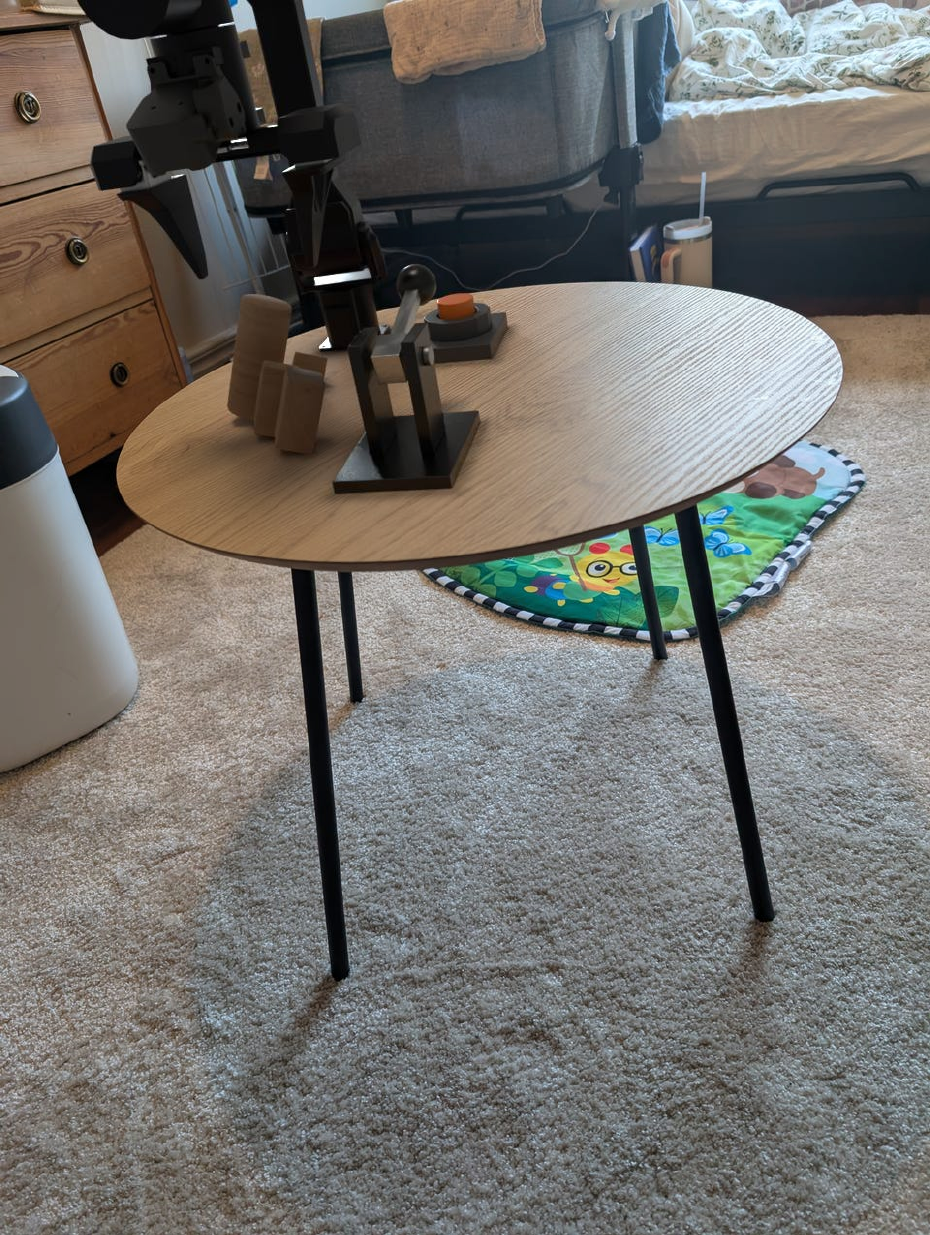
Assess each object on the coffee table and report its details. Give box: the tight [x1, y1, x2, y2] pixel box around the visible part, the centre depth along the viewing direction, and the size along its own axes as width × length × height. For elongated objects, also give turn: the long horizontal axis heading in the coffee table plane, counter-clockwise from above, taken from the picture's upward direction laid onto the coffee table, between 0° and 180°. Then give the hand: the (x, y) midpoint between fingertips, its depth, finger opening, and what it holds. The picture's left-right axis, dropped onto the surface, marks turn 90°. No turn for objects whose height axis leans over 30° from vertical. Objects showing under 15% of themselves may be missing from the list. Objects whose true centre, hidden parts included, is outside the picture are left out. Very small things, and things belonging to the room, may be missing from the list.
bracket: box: [331, 321, 481, 495], centre depth 68 cm, size 12×9×10 cm
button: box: [436, 292, 475, 320], centre depth 89 cm, size 4×4×2 cm
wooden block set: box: [226, 293, 328, 455], centre depth 78 cm, size 18×9×10 cm, turn 11°
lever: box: [370, 263, 437, 385], centre depth 69 cm, size 13×3×3 cm, turn 169°
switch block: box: [423, 302, 509, 365], centre depth 90 cm, size 10×8×4 cm
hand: (257, 272), depth 69 cm, fingers open, 9 cm apart
